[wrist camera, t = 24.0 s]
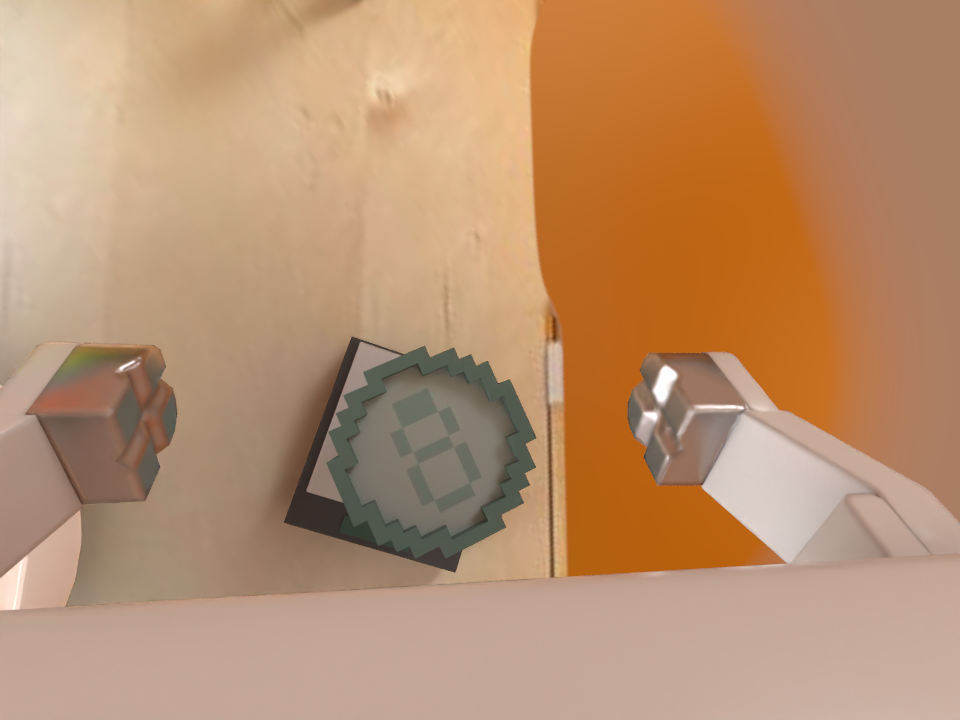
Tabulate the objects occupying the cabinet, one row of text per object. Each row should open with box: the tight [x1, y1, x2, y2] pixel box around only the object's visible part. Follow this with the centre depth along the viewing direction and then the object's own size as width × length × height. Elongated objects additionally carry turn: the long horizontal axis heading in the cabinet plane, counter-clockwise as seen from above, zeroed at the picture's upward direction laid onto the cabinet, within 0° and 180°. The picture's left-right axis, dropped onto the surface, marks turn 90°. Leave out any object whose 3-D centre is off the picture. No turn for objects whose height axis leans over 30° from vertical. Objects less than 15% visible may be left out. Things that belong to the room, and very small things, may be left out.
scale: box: [284, 337, 462, 572], centre depth 33 cm, size 11×10×4 cm
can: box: [326, 346, 536, 559], centre depth 24 cm, size 6×6×15 cm
